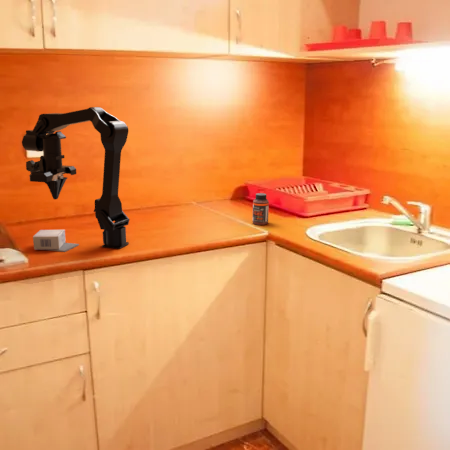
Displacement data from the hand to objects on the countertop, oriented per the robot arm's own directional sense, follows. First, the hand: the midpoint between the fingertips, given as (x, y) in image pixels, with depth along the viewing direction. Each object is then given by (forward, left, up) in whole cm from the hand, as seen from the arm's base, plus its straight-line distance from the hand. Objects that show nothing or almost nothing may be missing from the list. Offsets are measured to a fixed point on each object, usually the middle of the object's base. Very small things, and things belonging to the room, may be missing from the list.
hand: (55, 199), depth 181 cm
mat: (-8, +10, -13) cm, 18 cm away
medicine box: (-6, +15, -11) cm, 20 cm away
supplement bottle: (-61, -41, -13) cm, 74 cm away
